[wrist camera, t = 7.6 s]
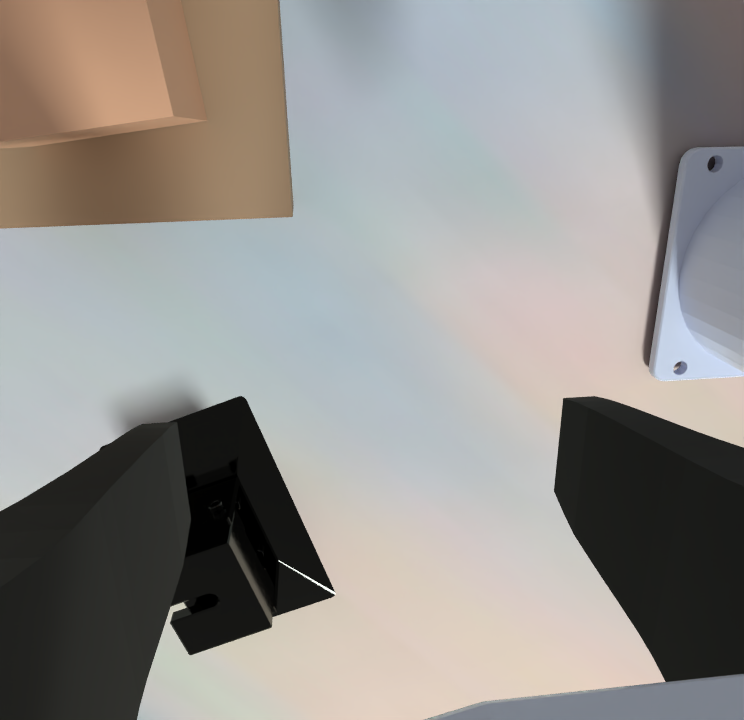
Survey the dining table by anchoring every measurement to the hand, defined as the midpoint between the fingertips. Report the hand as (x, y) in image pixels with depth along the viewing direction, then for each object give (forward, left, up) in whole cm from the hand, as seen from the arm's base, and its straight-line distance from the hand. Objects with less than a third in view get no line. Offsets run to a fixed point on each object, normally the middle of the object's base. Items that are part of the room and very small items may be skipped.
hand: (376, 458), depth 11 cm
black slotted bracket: (+5, +8, -11) cm, 14 cm away
